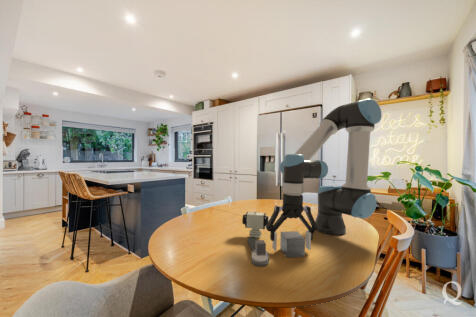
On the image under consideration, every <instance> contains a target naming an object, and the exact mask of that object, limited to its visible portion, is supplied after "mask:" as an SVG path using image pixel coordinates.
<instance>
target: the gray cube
mask: <svg viewBox="0 0 476 317" xmlns="http://www.w3.org/2000/svg"><path fill="white" fill-rule="evenodd" d="M279 243H280V246H279V248H280V249H279V250H281V252H282V254H284V256H285V258H304V257H305V255H306V250H305V249H306V237H304V236H303V235H302V234H301V233H300V232H298V231H280V242H279Z"/></svg>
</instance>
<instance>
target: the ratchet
mask: <svg viewBox="0 0 476 317" xmlns="http://www.w3.org/2000/svg"><path fill="white" fill-rule="evenodd" d="M247 244H248V247H249V249H250V251H251V263H252V265H254V266H255V267H261V268H262V267H267V266H268V265H269V263H270V253H269V251H267V248H266V247H267V246H266V244H267V243H266V241H265V239H264V240H263V239H262V240H261V239H258V238H256V237H250V236H247Z"/></svg>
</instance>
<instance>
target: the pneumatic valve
mask: <svg viewBox="0 0 476 317" xmlns="http://www.w3.org/2000/svg"><path fill="white" fill-rule="evenodd" d="M266 214H267V213H266V212H257V210H255V211H254V212H253V211H246V212H245V214H243V215H242V221H241V222H242V224H243V225H244V226H245V228H244V229H251V230H249V232H248V233H249V237H256V239H260V237H262V230H265V229H266V226H267V224H268V222H269V220H270V218H269V216H267V215H266Z"/></svg>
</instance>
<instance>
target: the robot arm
mask: <svg viewBox="0 0 476 317" xmlns="http://www.w3.org/2000/svg"><path fill="white" fill-rule="evenodd" d="M381 119H382V109H381V106H380V105H379V103H378V102H377V101H376V100H375V99H373V98H365V99H359V100H358V101H356V100H355V101H353V102H350V103H345V104H342V105H339V106H337V107H336V108H334V109H333V110H331V111H330V112H329V113H328V114H327V115H325V117H324V118H322V119H321V120H320V122H319V125H318V127H317V128H316V129H315V130H314V131H313V132H312V134H311V135H310V136H309V137H308V138H307V139H306V140H305V141H304V142H303V144H301V146H300V147H299V148H298V149H297V150H296V151H295V152H294V153H289V154H285V155H284V159H283V161H281V162H280V163H279V171H280V172H281V174H283V184H282V185H283V188H282V192H283V194H282V205H281V206H278V205H274V210H273V212H272V214H271V216H270V218H269V222H268V224H267V226H266V227H265V229H266V230H267V231H268V232H270V235H269V236H270V237H269V238H270V240H271V241H272V243H271V244H272V246H271V247H272V249H273V251H277V244H278V243H277V241H278V239H277V238H278V233H277V230H278V229H279V228H280V227H281V226H282V224H283V223H284V222H285V221H287V219H299V220H300V221H301V222H302V224H303V225H304V226H305V228H306V229H307V230H305V249H307V250H311V249H312V247H311V246H312V241H313V240H314V234H315V233H316V232H315V231H317V232H320V233H324V234H326V235H327V234H328V235H336V236H337V235H344V234H345V235H346V233H347V228H346V224H345V221H344V218H343V214H344V215H347V216H350V217H354V218H355V219H356V218H358V219H362V220H363V219H369V218H370V217H371V216H372V215H373V214H374V212H375V210H376V208H377V204H378V203H377V199H376V198H377V197H376V195H374V193H372V192H371V191H372V190H371V189H372V188H370V186H369V185H368V176H369V160H370V159H369V156H370V141H371V132H373V131H374V130H375V125H376V124H378V123H379V122H380V121H381ZM342 129H345V131H346V132H347V133H348V141H347V142H348V143H347V156H346V159H347V160H346V170H345V171H346V173H345V183H344V184H342V185H321V186H319V187H318V191H317V215H316V218H315V217H313V214H312V209H311V207H310V206H308V205H305V206H304V205H303V204H304V196H303V194H304V179H317V180H319V179H324V178H326V177H327V175H328V172H329V166H328V164H327V163H326V162H325V160H324V161H323V160H319V159H317V160H316V159H315V160H314V159H313V157H314V156H315V155H316V154H317V153H318V151H319V150H320V149H321V148H322V147H323V146H324V144H325V143H326V142H327V141H328V140H329V139H330V138H331V136H333V135H336V134H337V132H339V131H340V130H342ZM280 212H282V213H281V215H280V216H279V214H280ZM303 212H305V215H306V216H307V219H308V220H306V219H305V217H304V216H303V214H302V213H303ZM278 216H279V217H278ZM314 218H315V219H314ZM308 221H309V222H308Z"/></svg>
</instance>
